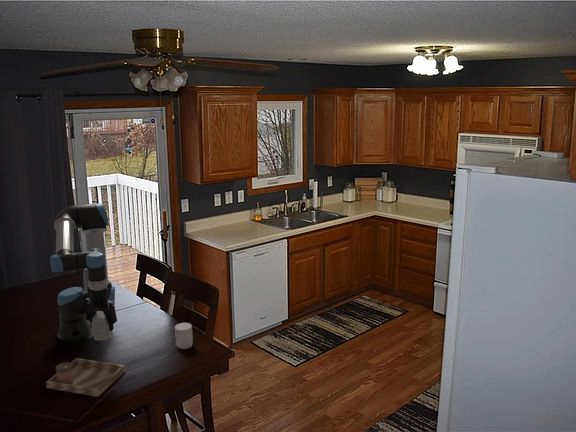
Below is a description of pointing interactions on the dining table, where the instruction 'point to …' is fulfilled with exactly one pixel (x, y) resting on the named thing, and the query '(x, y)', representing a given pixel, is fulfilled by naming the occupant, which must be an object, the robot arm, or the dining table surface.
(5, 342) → the dining table surface
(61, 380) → the jar
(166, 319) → the dining table surface
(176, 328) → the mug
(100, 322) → the small box
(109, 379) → the tray
